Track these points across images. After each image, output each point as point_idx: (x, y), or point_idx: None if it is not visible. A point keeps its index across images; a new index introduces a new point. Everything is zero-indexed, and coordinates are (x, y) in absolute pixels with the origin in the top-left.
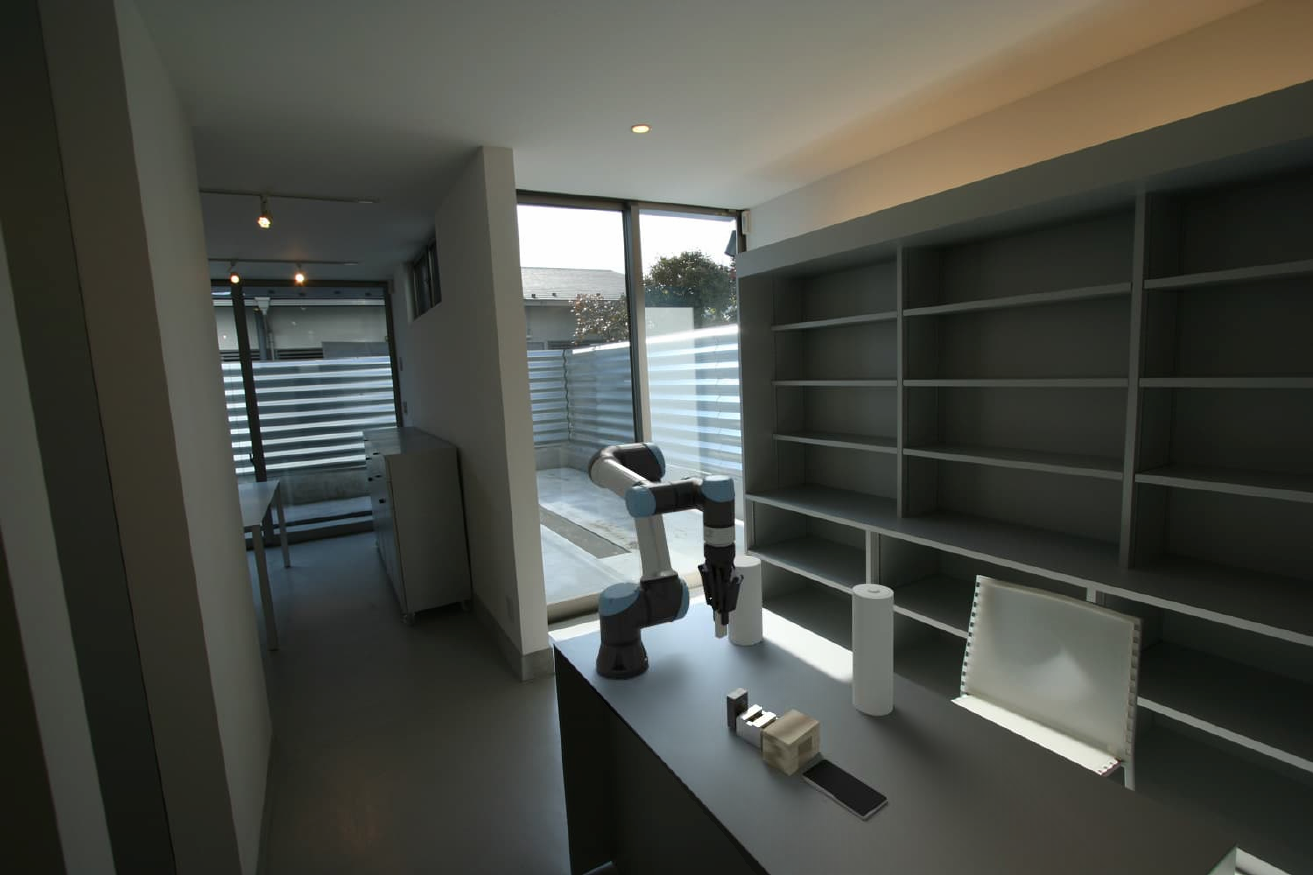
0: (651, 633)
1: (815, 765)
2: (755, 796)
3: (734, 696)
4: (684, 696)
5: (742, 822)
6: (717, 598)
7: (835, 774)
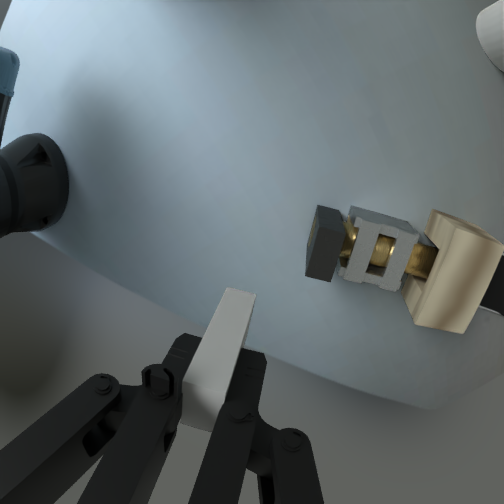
0: None
1: None
2: (407, 357)
3: (325, 270)
4: (170, 194)
5: (401, 391)
6: (154, 470)
7: (501, 274)
